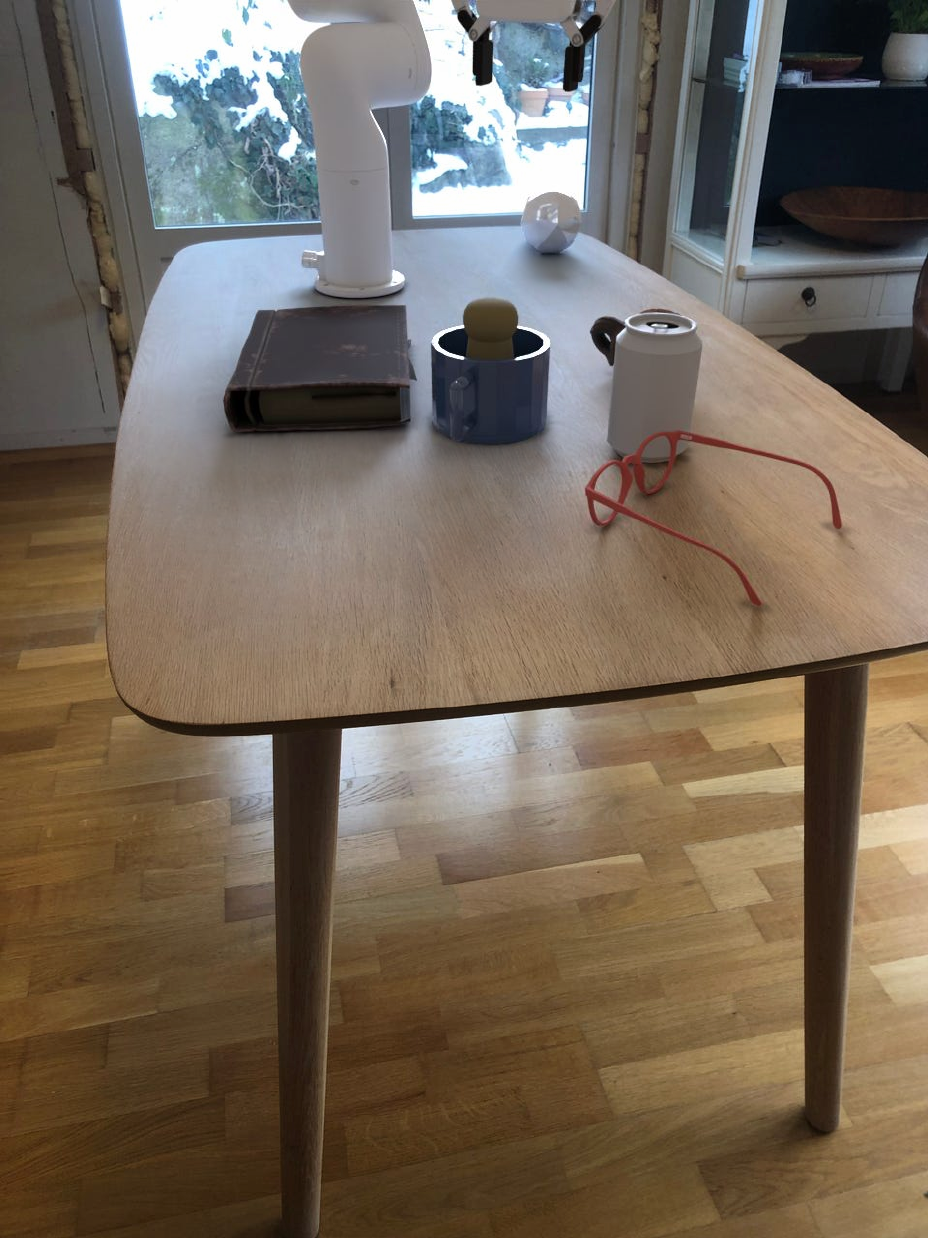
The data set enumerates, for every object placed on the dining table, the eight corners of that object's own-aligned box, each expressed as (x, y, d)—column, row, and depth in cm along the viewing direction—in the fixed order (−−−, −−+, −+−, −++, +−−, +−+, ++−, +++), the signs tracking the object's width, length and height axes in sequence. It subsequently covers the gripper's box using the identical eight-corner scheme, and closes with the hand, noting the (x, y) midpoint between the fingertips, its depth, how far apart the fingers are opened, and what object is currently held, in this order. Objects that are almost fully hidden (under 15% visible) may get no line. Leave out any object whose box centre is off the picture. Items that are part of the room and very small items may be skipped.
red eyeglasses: (672, 468, 86) (679, 416, 83) (847, 523, 77) (862, 466, 74) (561, 542, 75) (565, 484, 72) (752, 615, 66) (764, 553, 63)
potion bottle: (548, 270, 148) (530, 258, 161) (600, 229, 146) (577, 220, 159) (514, 218, 144) (498, 210, 157) (567, 175, 142) (546, 171, 155)
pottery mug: (692, 367, 109) (715, 316, 101) (668, 429, 105) (691, 380, 97) (593, 331, 110) (609, 277, 102) (566, 390, 106) (580, 339, 98)
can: (692, 439, 91) (710, 312, 84) (680, 471, 85) (699, 338, 78) (614, 429, 93) (626, 304, 86) (598, 460, 87) (609, 329, 80)
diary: (226, 434, 92) (218, 384, 89) (256, 350, 112) (250, 307, 110) (419, 429, 93) (418, 379, 90) (414, 346, 113) (412, 303, 111)
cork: (521, 402, 97) (525, 292, 90) (518, 426, 92) (522, 310, 85) (461, 400, 97) (461, 290, 91) (455, 423, 92) (454, 308, 86)
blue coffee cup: (458, 394, 101) (457, 318, 96) (560, 409, 97) (564, 330, 93) (399, 448, 89) (395, 364, 85) (512, 467, 86) (515, 381, 81)
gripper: (436, -121, 90) (436, 85, 100) (613, -123, 85) (595, 96, 94) (467, -117, 96) (464, 78, 105) (635, -118, 90) (616, 88, 100)
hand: (526, 87), depth 100 cm, fingers open, 9 cm apart
